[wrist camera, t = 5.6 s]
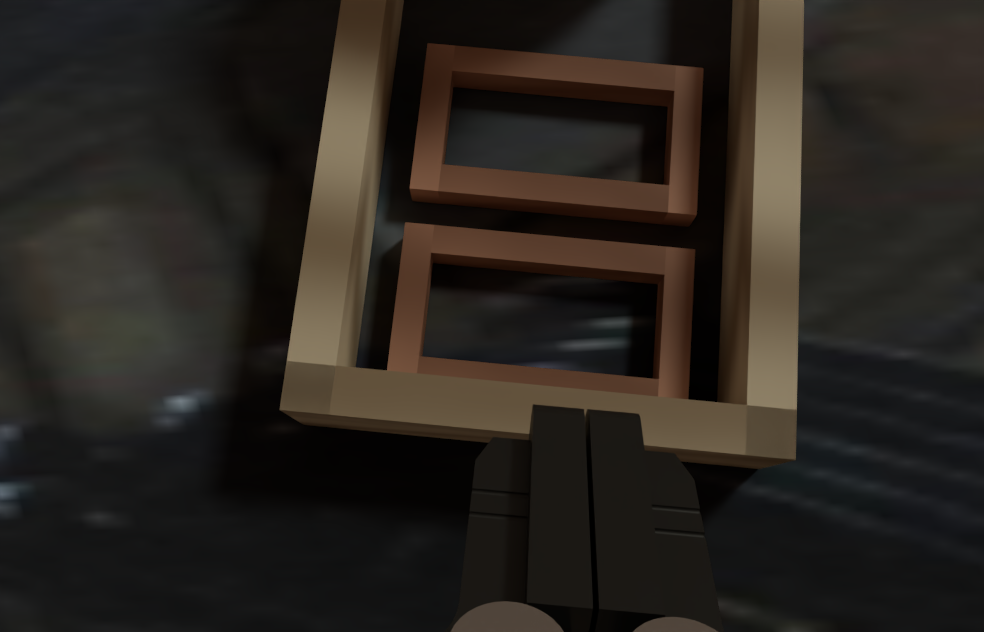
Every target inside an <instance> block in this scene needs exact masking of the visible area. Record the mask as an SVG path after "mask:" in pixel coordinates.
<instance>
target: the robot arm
mask: <svg viewBox="0 0 984 632" xmlns="http://www.w3.org/2000/svg"><path fill="white" fill-rule="evenodd" d="M445 632H724V630H723V626H722V622H721V616H720V611H719V606H718V601H717V595H716V590H715V585H714V580H713V575H712V569H711V564H710V559H709V554H708V548H707V543H706V539H705V538H704V527H703V522H702V517H701V514H700V506H699V501H698V496H697V491H696V486H695V480H694V479H693V477H692V476H691V475H690V473H689V472H688V470H687V469H686V468H685V466H684V465H683V464H682V462H681V461H680V460H679V458H678V457H677V456H676V454H675V453H668V452H657V451H646V450H645V449H644V441H643V433H642V425H641V418H640V415H639V414H638V413H627V412H615V411H604V410H593V409H587V411H586V415H585V413H584V409H580V408H568V407H557V406H546V405H535V404H533V407H532V413H531V422H530V431H529V440H522V439H510V438H499V437H493V438H492V439H491V440H490V442H489V443H488V444H487V446H486V447H485V448H484V450H483V451H482V452H481V453H480V455H479V456H478V457H477V459H476V460H475V468H474V477H473V486H472V494H471V503H470V512H469V521H468V530H467V538H466V547H465V556H464V565H463V573H462V582H461V591H460V600H459V605H458V610H457V613H456V615H455V617H454V619H453V621H452V623H451V624H450V626H449V627H448V628H447V629H446V631H445Z"/></svg>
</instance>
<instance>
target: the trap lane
mask: <svg viewBox="0 0 984 632" xmlns="http://www.w3.org/2000/svg"><path fill="white" fill-rule="evenodd" d="M403 5H404V0H341V5H340V12H339V18H338V25H337V32H336V38H335V45H334V51H333V58H332V65H331V71H330V78H329V85H328V91H327V98H326V104H325V111H324V118H323V124H322V131H321V138H320V144H319V151H318V158H317V164H316V171H315V177H314V184H313V191H312V197H311V204H310V211H309V217H308V224H307V230H306V237H305V244H304V250H303V257H302V264H301V270H300V277H299V283H298V290H297V297H296V303H295V310H294V317H293V323H292V330H291V337H290V343H289V350H288V356H287V363H286V370H285V376H284V383H283V390H282V396H281V403H280V409H279V410H281V411H282V412H284V413H285V414H287V415H289V416H290V417H292V418H293V419H295V420H297V421H298V422H300V423H301V424H303V425H311V426H322V427H332V428H342V429H352V430H363V431H373V432H383V433H394V434H404V435H414V436H425V437H435V438H445V439H456V440H466V441H476V442H486V443H489V442H490V440H491V439H492V438H493V437H499V438H510V439H522V440H529V431H530V422H531V413H532V407H533V404H535V405H546V406H557V407H568V408H580V409H584V413H585V415H586V411H587V409H593V410H604V411H615V412H627V413H638V414H639V415H640V418H641V425H642V433H643V441H644V449H645V450H646V451H657V452H668V453H675V454H676V456H677V457H678V458H679V460H680V461H682V462H693V463H703V464H713V465H724V466H734V467H744V468H754V469H761V468H765V467H769V466H773V465H777V464H781V463H785V462H789V461H793V460H796V416H797V360H798V304H799V249H800V193H801V137H802V81H803V25H804V0H733V3H732V29H731V55H730V81H729V107H728V133H727V159H726V185H725V211H724V237H723V263H722V289H721V315H720V341H719V367H718V393H717V402H710V401H699V400H689V399H688V396H689V374H690V353H691V331H692V309H693V287H694V265H695V249H686V248H675V247H665V246H654V245H643V244H632V243H622V242H611V241H600V240H590V239H579V238H568V237H558V236H547V235H536V234H526V233H515V232H504V231H494V230H483V229H472V228H461V227H451V226H440V225H429V224H419V223H408V222H405V229H404V237H403V245H402V253H401V261H400V269H399V277H398V285H397V293H396V301H395V309H394V317H393V325H392V333H391V341H390V349H389V357H388V365H387V370H376V369H366V368H355V367H356V359H357V351H358V344H359V336H360V329H361V321H362V314H363V306H364V299H365V291H366V284H367V276H368V269H369V261H370V254H371V246H372V238H373V231H374V223H375V216H376V208H377V201H378V193H379V186H380V178H381V171H382V163H383V156H384V148H385V141H386V133H387V125H388V118H389V110H390V103H391V95H392V88H393V80H394V73H395V65H396V58H397V50H398V43H399V35H400V28H401V20H402V12H403ZM703 69H704V68H698V67H687V66H676V65H664V64H653V63H642V62H631V61H620V60H609V59H598V58H587V57H576V56H565V55H554V54H543V53H532V52H521V51H510V50H499V49H488V48H477V47H466V46H455V45H444V44H433V43H428V44H427V52H426V60H425V68H424V76H423V84H422V92H421V100H420V108H419V116H418V124H417V132H416V140H415V148H414V157H413V165H412V173H411V181H410V193H411V197H412V201H416V202H427V203H438V204H449V205H459V206H470V207H481V208H491V209H502V210H513V211H524V212H534V213H545V214H556V215H567V216H577V217H588V218H599V219H609V220H620V221H631V222H642V223H652V224H663V225H674V226H685V227H689V226H690V225H691V223H692V222H693V220H694V219H695V217H696V215H697V200H698V178H699V156H700V134H701V113H702V91H703ZM453 87H457V88H468V89H479V90H490V91H501V92H512V93H523V94H534V95H545V96H556V97H567V98H578V99H589V100H600V101H611V102H622V103H633V104H644V105H655V106H666V107H668V111H667V129H666V147H665V165H664V183H663V185H660V184H649V183H638V182H628V181H617V180H606V179H595V178H584V177H574V176H563V175H552V174H541V173H530V172H520V171H509V170H498V169H487V168H476V167H466V166H455V165H444V164H445V155H446V146H447V138H448V129H449V120H450V112H451V103H452V94H453ZM433 263H436V264H447V265H457V266H468V267H479V268H489V269H500V270H511V271H521V272H532V273H542V274H553V275H564V276H574V277H585V278H595V279H606V280H617V281H627V282H638V283H649V284H658V291H657V310H656V328H655V346H654V364H653V379H651V378H641V377H630V376H620V375H609V374H599V373H588V372H578V371H567V370H557V369H547V368H536V367H526V366H515V365H505V364H494V363H484V362H473V361H463V360H452V359H442V358H432V357H422V354H423V345H424V336H425V328H426V319H427V310H428V302H429V293H430V285H431V276H432V267H433Z"/></svg>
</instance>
